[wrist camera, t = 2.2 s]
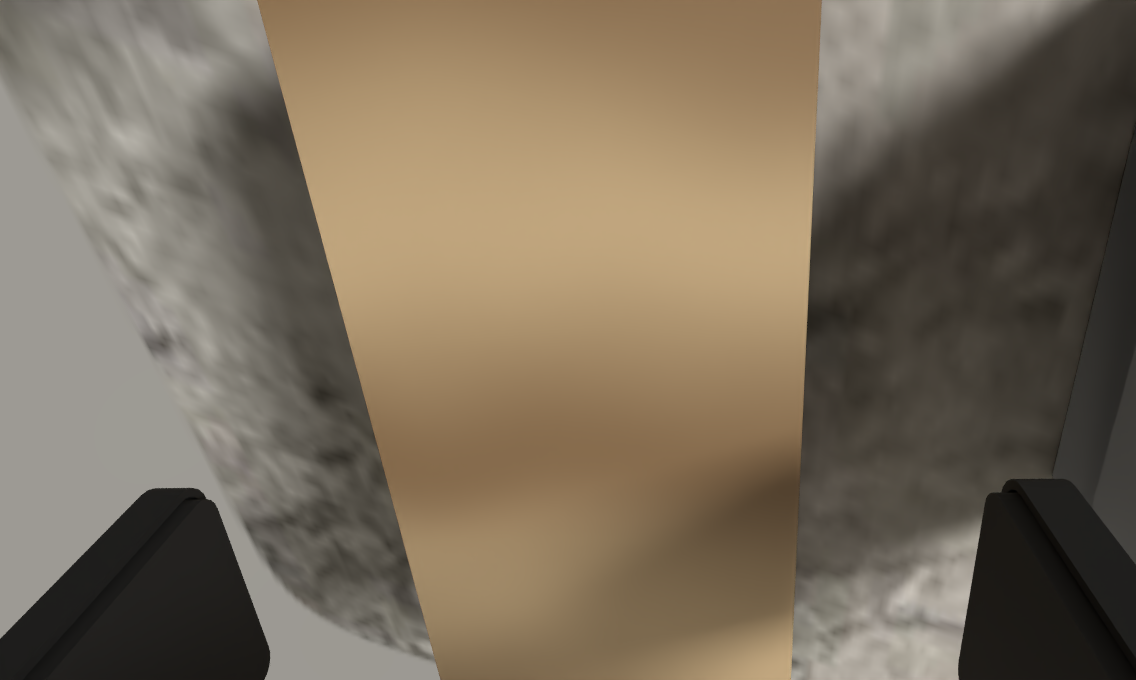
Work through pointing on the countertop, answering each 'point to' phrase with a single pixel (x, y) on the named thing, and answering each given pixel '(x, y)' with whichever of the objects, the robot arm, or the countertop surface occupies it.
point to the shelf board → (574, 313)
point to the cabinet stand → (1108, 383)
